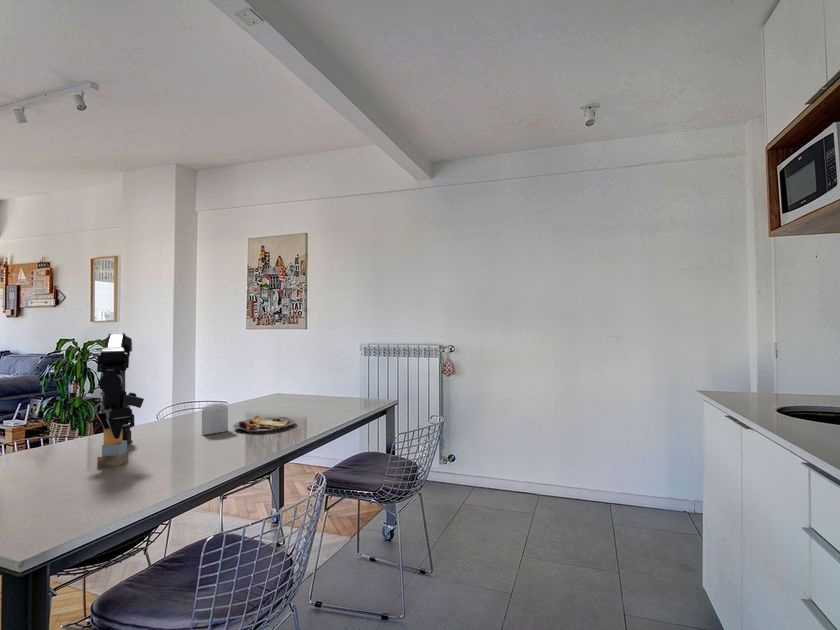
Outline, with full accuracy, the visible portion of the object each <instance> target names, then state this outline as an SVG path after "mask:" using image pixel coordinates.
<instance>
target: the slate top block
mask: <svg viewBox="0 0 840 630" xmlns="http://www.w3.org/2000/svg"><path fill="white" fill-rule="evenodd" d="M126 451H128V444H127V441H122V443H120V444H116V445H104V444H103V445H101V455H102V456H119V455H121V454H123V453H125V452H126Z"/></svg>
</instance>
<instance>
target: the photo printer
mask: <svg viewBox="0 0 840 630" xmlns="http://www.w3.org/2000/svg"><path fill="white" fill-rule="evenodd" d="M225 431H227V432H228V431H229V406H228V404H227V403H223V402H213V403H208V404H206V405H203V407H202V409H201V435H202V436H209V435H214V433H215V434H220V432H221V433H226V432H225Z"/></svg>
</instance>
